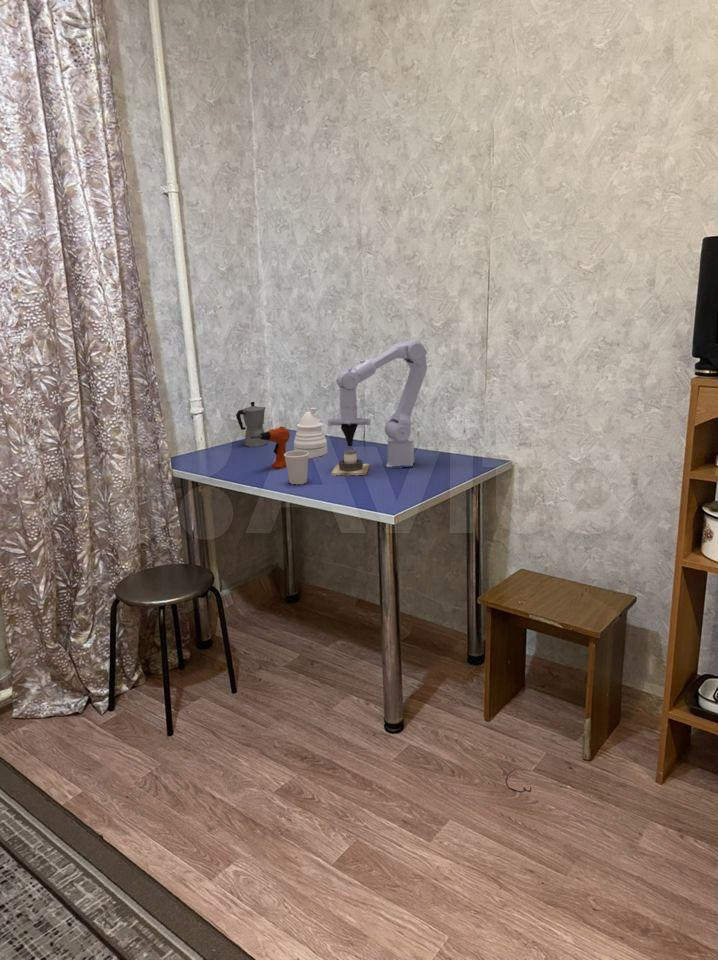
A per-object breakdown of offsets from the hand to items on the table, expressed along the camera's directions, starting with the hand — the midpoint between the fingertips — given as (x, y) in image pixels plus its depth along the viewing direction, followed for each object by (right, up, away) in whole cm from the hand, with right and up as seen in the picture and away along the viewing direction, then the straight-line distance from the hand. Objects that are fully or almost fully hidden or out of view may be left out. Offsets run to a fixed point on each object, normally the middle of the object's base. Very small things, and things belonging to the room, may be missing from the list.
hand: (350, 445), depth 243 cm
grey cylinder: (0, -8, +2) cm, 8 cm away
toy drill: (-28, -8, +9) cm, 31 cm away
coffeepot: (-40, +2, +47) cm, 62 cm away
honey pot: (-16, -2, +29) cm, 33 cm away
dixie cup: (-17, -13, -9) cm, 23 cm away
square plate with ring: (0, -9, +2) cm, 9 cm away
